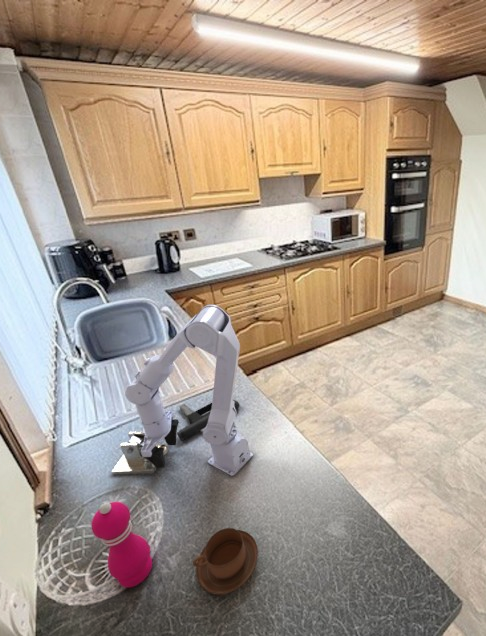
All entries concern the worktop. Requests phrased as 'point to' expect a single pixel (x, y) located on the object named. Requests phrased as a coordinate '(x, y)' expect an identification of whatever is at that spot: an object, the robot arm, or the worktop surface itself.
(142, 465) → the bracket
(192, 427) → the door handle
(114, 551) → the pepper mill
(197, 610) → the worktop surface
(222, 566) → the cup and saucer
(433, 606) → the worktop surface
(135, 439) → the lever
